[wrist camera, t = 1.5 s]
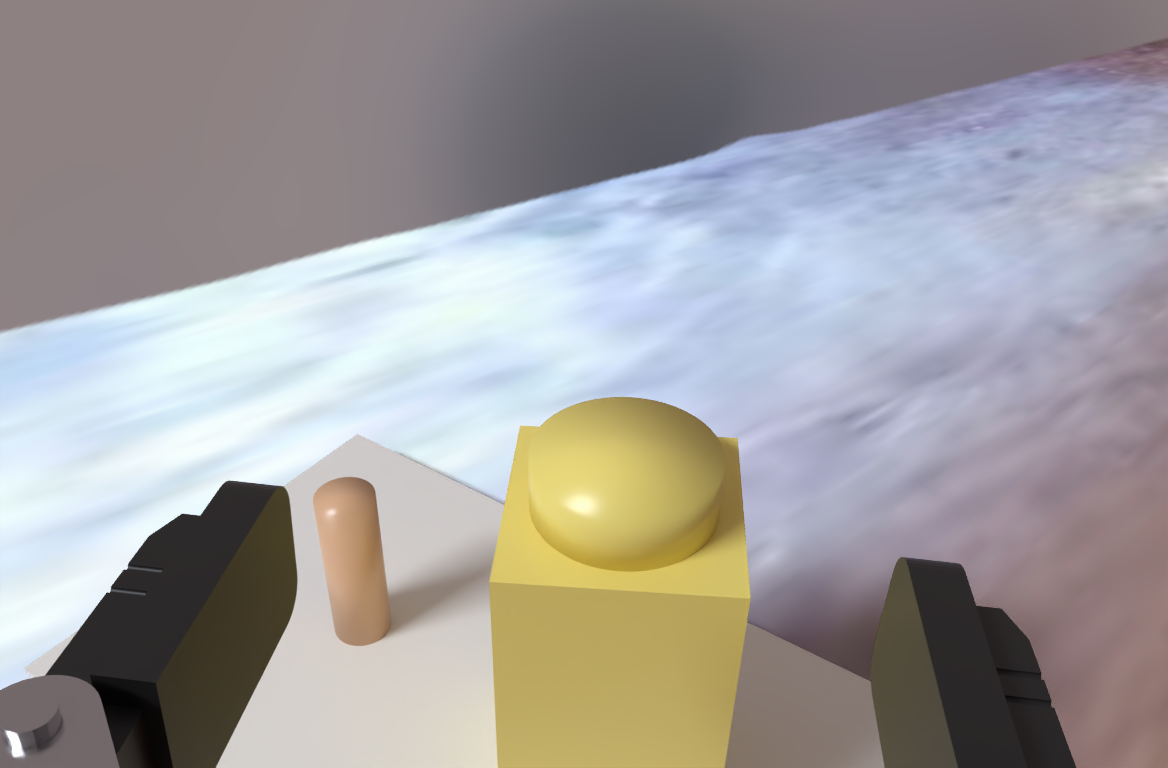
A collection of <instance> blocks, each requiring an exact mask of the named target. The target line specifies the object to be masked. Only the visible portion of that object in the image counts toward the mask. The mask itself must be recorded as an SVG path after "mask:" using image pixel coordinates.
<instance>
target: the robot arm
mask: <svg viewBox="0 0 1168 768" xmlns="http://www.w3.org/2000/svg"><path fill="white" fill-rule="evenodd" d="M297 581H298V577H297V566H296V556H295V546H294V537H293V527H292V517H291V508H290V499H289V495H288V492H287V490H286V489H285V487H283V486H274V485H265V484H256V483H247V482H238V481H227V482H225V483H224V484H223V485H222V486H221V487H220V489H219V490H218V491H217V493H216V494H215V496H214V497H213V499H212V500H211V501H210V503H209V504H208V506H207V507H206V509H205V510H204V511H203V513H202V514H201V516H198V515H189V514H181V515H180V516H178V517H177V518H175V519H174V520H172V521H171V522H169V523H168V524H166V525H165V526H163V527H162V528H160V529H159V530H157V531H156V532H155V533H153V534H152V535H150V536H149V537H148V538H147V539H146V541H145V542H144V543H143V545H142V546H141V547H140V549H139V550H138V551H137V553H136V554H135V556H134V557H133V558H132V560H131V561H130V562H129V564H128V569H127V570H123V572H122V573H121V574H120V576H119V577H118V578H117V580H116V581H115V582H114V584H113V585H112V586H111V592H110V593H106V594H105V596H104V597H103V598H102V600H101V601H100V602H99V604H98V605H97V606H96V608H95V609H94V610H93V612H92V613H91V614H90V616H89V617H88V618H87V620H86V621H85V622H84V624H83V625H82V626H81V628H80V629H79V630H78V632H77V633H76V634H75V636H74V637H73V638H72V640H71V641H70V642H69V644H68V645H67V646H66V648H65V649H64V650H63V652H62V653H61V655H60V656H59V657H58V659H57V660H56V661H55V663H54V664H53V665H52V667H51V668H50V669H49V671H48V672H47V673H46V675H45V676H40V677H34V678H30V679H26V680H23V681H20V682H18V683H15V684H12V685H10V686H8V687H6V688H4V689H2V690H0V768H216V766H217V764H218V762H219V760H220V758H221V756H222V754H223V752H224V750H225V748H226V746H227V744H228V742H229V740H230V738H231V736H232V734H233V732H234V731H235V729H236V727H237V725H238V723H239V721H240V719H241V717H242V715H243V713H244V711H245V709H246V707H247V705H248V703H249V701H250V699H251V697H252V695H253V693H254V691H255V689H256V687H257V685H258V683H259V681H260V679H261V677H262V675H263V673H264V671H265V669H266V667H267V665H268V663H269V661H270V659H271V657H272V655H273V653H274V651H275V649H276V647H277V645H278V643H279V641H280V639H281V637H282V635H283V633H284V631H285V629H286V627H287V625H288V623H289V621H290V618H291V616H292V612H293V609H294V605H295V600H296V594H297ZM871 690H872V698H873V704H874V709H875V715H876V721H877V727H878V732H879V738H880V744H881V750H882V755H883V761H884V767H885V768H1076V766H1075V763H1074V761H1073V758H1072V755H1071V752H1070V750H1069V747H1068V744H1067V741H1066V739H1065V736H1064V733H1063V731H1062V728H1061V725H1060V722H1059V720H1058V717H1057V714H1056V712H1055V709H1054V708H1052V707H1051V698H1050V695H1049V693H1048V690H1047V687H1046V684H1045V682H1044V680H1041V671H1040V668H1039V665H1038V663H1037V660H1036V657H1035V655H1034V652H1033V649H1032V646H1031V644H1030V641H1029V639H1028V638H1027V637H1026V636H1025V635H1024V634H1023V632H1022V631H1021V630H1020V629H1019V628H1018V627H1017V626H1016V625H1015V623H1014V622H1013V621H1012V620H1011V619H1010V618H1009V617H1008V616H1007V614H1006V613H1005V612H1004V611H1003V610H1002V609H999V608H990V607H982V606H976V604H975V601H974V598H973V595H972V592H971V589H970V586H969V582H968V579H967V576H966V573H965V570H964V568H963V567H962V565H961V564H958V563H950V562H941V561H932V560H923V559H914V558H905V557H901V558H899V559H898V561H897V563H896V565H895V568H894V571H893V575H892V579H891V583H890V586H889V590H888V594H887V598H886V601H885V605H884V609H883V613H882V617H881V620H880V624H879V628H878V632H877V636H876V639H875V643H874V648H873V654H872V663H871Z"/></svg>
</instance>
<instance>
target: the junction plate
mask: <svg viewBox="0 0 1168 768" xmlns="http://www.w3.org/2000/svg"><path fill="white" fill-rule="evenodd" d="M283 487H285V489H286V490H287V492H288V495H289V499H290V508H291V517H292V527H293V537H294V546H295V556H296V566H297V577H298V581H297V594H296V600H295V605H294V609H293V612H292V616H291V618H290V621H289V623H288V625H287V627H286V629H285V631H284V633H283V635H282V637H281V639H280V641H279V643H278V645H277V647H276V649H275V651H274V653H273V655H272V657H271V659H270V661H269V663H268V665H267V667H266V669H265V671H264V673H263V675H262V677H261V679H260V681H259V683H258V685H257V687H256V689H255V691H254V693H253V695H252V697H251V699H250V701H249V703H248V705H247V707H246V709H245V711H244V713H243V715H242V717H241V719H240V721H239V723H238V725H237V727H236V729H235V731H234V732H233V734H232V736H231V738H230V740H229V742H228V744H227V746H226V748H225V750H224V752H223V754H222V756H221V758H220V760H219V762H218V764H217V766H216V768H498V764H497V742H496V720H495V699H494V677H493V655H492V634H491V612H490V590H489V580H490V575H491V570H492V565H493V560H494V555H495V550H496V545H497V540H498V535H499V530H500V525H501V520H502V515H503V510H504V505H503V504H501V503H499V502H497V501H495V500H493V499H491V498H489V497H487V496H485V495H483V494H481V493H479V492H476V491H474V490H472V489H470V488H468V487H466V486H464V485H462V484H460V483H458V482H456V481H454V480H452V479H450V478H447V477H445V476H443V475H441V474H439V473H437V472H435V471H433V470H431V469H429V468H427V467H425V466H423V465H420V464H418V463H416V462H414V461H412V460H410V459H408V458H406V457H404V456H402V455H400V454H398V453H396V452H394V451H391V450H389V449H387V448H385V447H383V446H381V445H379V444H377V443H375V442H373V441H371V440H369V439H367V438H364V437H362V436H360V435H358V434H357V435H356V436H354V437H353V438H352V439H350V440H349V441H347V442H346V443H344V444H343V445H342V446H340V447H339V448H337V449H336V450H334V451H333V452H332V453H330V454H329V455H327V456H326V457H324V458H323V459H322V460H320V461H319V462H317V463H316V464H315V465H313V466H312V467H310V468H309V469H307V470H306V471H305V472H303V473H302V474H300V475H299V476H297V477H296V478H295V479H293V480H292V481H290V482H289V483H287V484H286V485H285V486H283ZM77 632H78V631H77ZM77 632H75V633H74V634H72V635H71V636H70V637H68V638H67V639H65V640H64V641H62V642H61V643H60V644H58V645H57V646H55V647H54V648H52V649H51V650H50V651H48V652H47V653H45V654H44V655H42V656H41V657H40V658H38V659H37V660H35V661H34V662H33V663H31V664H30V665H28V666H27V667H25V668H24V669H25V672H26V674H27V676H28V679H30V678H34V677H40V676H45V675H46V673H47V672H48V671H49V669H50V668H51V667H52V665H53V664H54V663H55V661H56V660H57V659H58V657H59V656H60V655H61V653H62V652H63V650H64V649H65V648H66V646H67V645H68V644H69V642H70V641H71V640H72V638H73V637H74V636H75V634H76V633H77ZM725 768H885V767H884V761H883V755H882V750H881V744H880V738H879V732H878V727H877V721H876V715H875V709H874V704H873V698H872V690H871V681H869V680H866V679H864V678H862V677H860V676H858V675H856V674H854V673H852V672H850V671H848V670H846V669H844V668H842V667H839V666H837V665H835V664H833V663H831V662H829V661H827V660H825V659H823V658H821V657H819V656H817V655H815V654H813V653H810V652H808V651H806V650H804V649H802V648H800V647H798V646H796V645H794V644H792V643H790V642H788V641H786V640H783V639H781V638H779V637H777V636H775V635H773V634H771V633H769V632H767V631H765V630H763V629H761V628H759V627H757V626H754V625H752V624H750V623H748V622H747V625H746V632H745V638H744V645H743V651H742V658H741V664H740V671H739V677H738V684H737V690H736V697H735V703H734V710H733V716H732V723H731V729H730V736H729V742H728V749H727V755H726V762H725Z"/></svg>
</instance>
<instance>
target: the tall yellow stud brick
mask: <svg viewBox="0 0 1168 768" xmlns="http://www.w3.org/2000/svg"><path fill="white" fill-rule="evenodd" d="M489 590H490V612H491V634H492V655H493V677H494V699H495V720H496V742H497V764H498V768H725V762H726V755H727V749H728V742H729V736H730V729H731V723H732V716H733V710H734V703H735V697H736V690H737V684H738V677H739V671H740V664H741V658H742V651H743V645H744V638H745V632H746V625H747V619H748V612H749V606H750V599H751V597H750V585H749V573H748V561H747V548H746V536H745V524H744V512H743V499H742V487H741V475H740V463H739V450H738V438H725V437H717V436H716V435H715V434H714V433H713V431H712V430H711V429H710V428H709V427H708V426H707V425H706V424H704V423H703V422H702V421H700V420H699V419H698V418H696V417H695V416H693V415H691V414H689V413H688V412H686V411H684V410H681V409H679V408H677V407H674V406H671V405H669V404H666V403H662V402H658V401H654V400H648V399H642V398H632V397H611V398H601V399H594V400H590V401H585V402H582V403H579V404H575V405H573V406H570V407H568V408H566V409H563V410H561V411H560V412H558V413H556V414H554V415H553V416H552V417H550V418H549V419H548V420H546V421H545V422H544V423H543V424H542V425H541V426H540V427H533V426H520V430H519V435H518V440H517V445H516V450H515V455H514V460H513V465H512V470H511V475H510V480H509V485H508V490H507V495H506V500H505V505H504V510H503V515H502V520H501V525H500V530H499V535H498V540H497V545H496V550H495V555H494V560H493V565H492V570H491V575H490V580H489Z"/></svg>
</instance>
